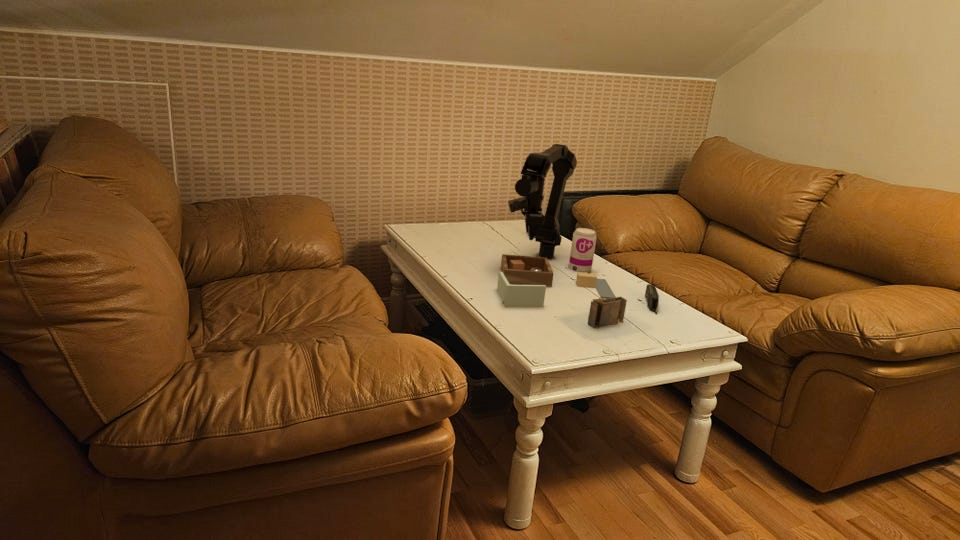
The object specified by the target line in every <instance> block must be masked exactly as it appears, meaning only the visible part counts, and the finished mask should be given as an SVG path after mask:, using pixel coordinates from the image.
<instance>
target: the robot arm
mask: <svg viewBox="0 0 960 540" xmlns="http://www.w3.org/2000/svg"><path fill="white" fill-rule="evenodd" d="M577 164H578V159H577V157H576V155H575V153H573V152H572V151H571V150H570V149H569V147H568V146H567V145H566V144H560V143H555V144H552V146H550V147H549V148H547V149H545V150H544V151H541V152H530V153H529V154H528V155H527V156H526V159H525V161H524V163H523V165H522V169H521V171H520V174H521V178H520V179H518V180H517V181H516V183H515V184H514V190H515V192H516V194H517V195H518V196H520V197H518V198H514V199H510V200H508V201H507V204H508V208H509V212H510V213H511V214H512V213H515V212H516V211H520V213H521V214H522V215H523V216H524V223H525V232H526V233H527V232H529V234H528V240H529V241H533V240H534V239H535V240H534V241H535V242H537V243H539V250H538V253H536V254H537V255H538V257H544V258H548V260H549V261H551V260H552V259H553V260H556V258H555V249H556V247H557V246H561V242H562V238H563V237H562V235H561V233H560V232H561V231H560V228H561V226H560V223H559V220H558V218H559V213H560V209H561V205H562V201H563V197H564V193H565V189H566V185H567V180H568V179H570V178H571V177H572V176H573V174H574V171H575V169H576V168H577ZM551 166H552V167H551ZM550 169H551V170H552V173H553V182H552V185H551V190H550V193H549V197H548V201H547V205H546V210H545V212H544V213H545V214H543V208H542V204H543V201H544V198H545V196H544V197H543V195H544V191H545V188H544V187H545V182H546V181H545V180H546V178H547V174H548V173H549V171H550ZM542 200H543V201H542Z"/></svg>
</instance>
